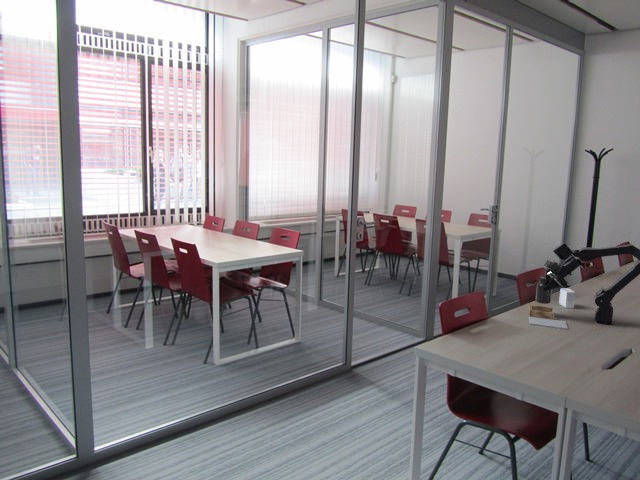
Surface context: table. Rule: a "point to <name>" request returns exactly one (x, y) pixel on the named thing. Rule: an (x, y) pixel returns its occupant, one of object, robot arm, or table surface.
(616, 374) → the table surface
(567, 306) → the medicine box
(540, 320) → the slate mat
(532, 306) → the tan wooden bay
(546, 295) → the supplement bottle
